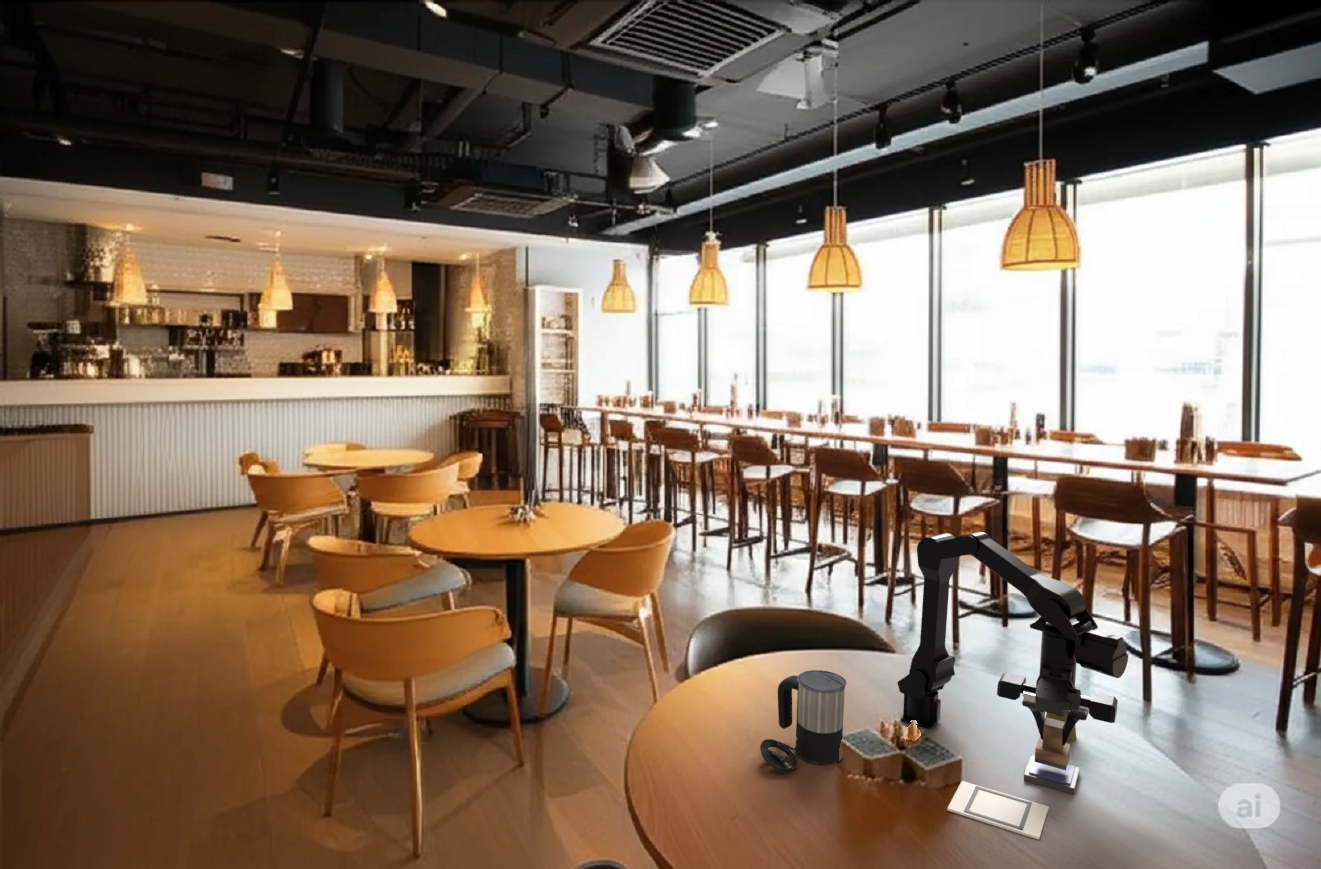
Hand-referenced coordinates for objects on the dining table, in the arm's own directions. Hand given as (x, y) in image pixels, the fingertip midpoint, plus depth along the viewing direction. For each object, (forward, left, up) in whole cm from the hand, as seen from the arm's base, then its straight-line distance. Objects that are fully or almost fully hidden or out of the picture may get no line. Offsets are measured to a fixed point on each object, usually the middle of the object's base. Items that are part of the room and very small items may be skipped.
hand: (1053, 741), depth 140 cm
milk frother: (-40, -19, -7) cm, 45 cm away
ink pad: (0, 0, -7) cm, 7 cm away
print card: (-6, -16, -7) cm, 18 cm away
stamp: (0, 0, -3) cm, 3 cm away
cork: (-1, +18, -7) cm, 19 cm away
